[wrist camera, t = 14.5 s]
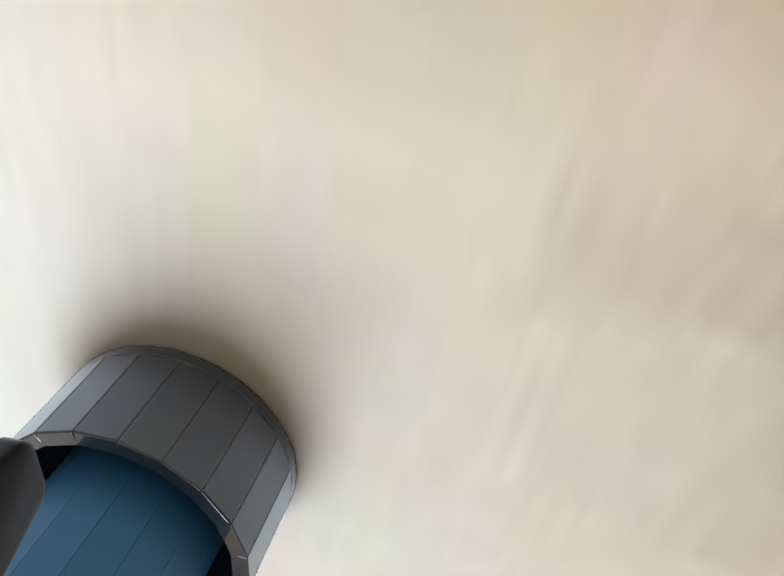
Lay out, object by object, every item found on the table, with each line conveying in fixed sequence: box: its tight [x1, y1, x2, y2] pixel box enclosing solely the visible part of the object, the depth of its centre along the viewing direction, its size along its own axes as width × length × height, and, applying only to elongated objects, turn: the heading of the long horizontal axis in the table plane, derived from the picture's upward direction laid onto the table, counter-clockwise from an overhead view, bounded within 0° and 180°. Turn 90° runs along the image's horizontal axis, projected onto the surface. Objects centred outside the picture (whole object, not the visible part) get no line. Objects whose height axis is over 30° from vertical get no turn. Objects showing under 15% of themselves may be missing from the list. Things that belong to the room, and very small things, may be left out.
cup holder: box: [13, 346, 296, 576], centre depth 26 cm, size 9×9×4 cm
